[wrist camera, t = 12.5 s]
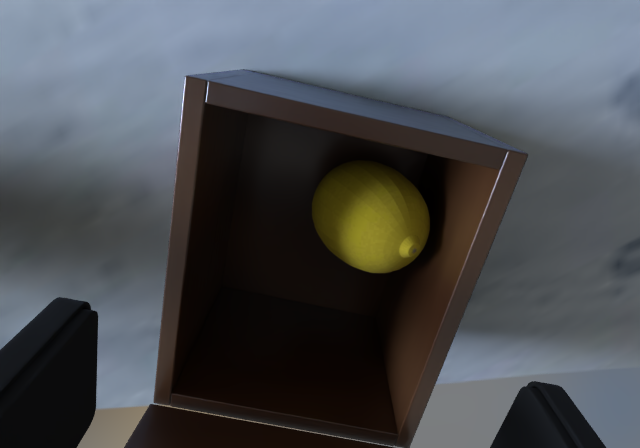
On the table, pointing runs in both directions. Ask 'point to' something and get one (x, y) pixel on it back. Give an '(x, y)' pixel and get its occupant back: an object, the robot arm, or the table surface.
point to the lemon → (370, 216)
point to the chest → (315, 258)
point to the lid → (223, 433)
